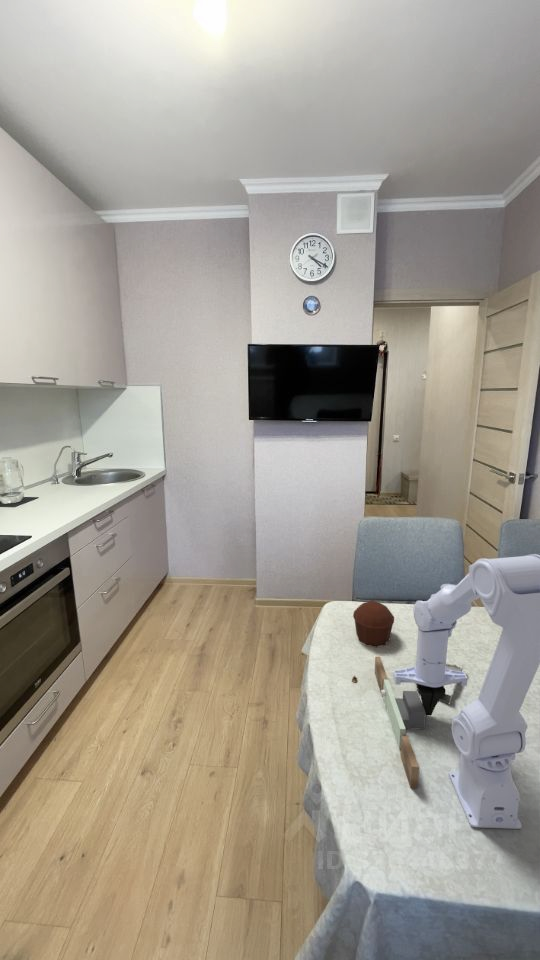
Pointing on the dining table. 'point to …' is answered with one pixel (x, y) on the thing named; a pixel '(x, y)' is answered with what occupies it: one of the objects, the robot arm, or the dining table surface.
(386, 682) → the door
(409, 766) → the brown wooden plank
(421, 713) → the grey stepped block
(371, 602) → the muffin
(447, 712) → the dining table surface
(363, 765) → the dining table surface
